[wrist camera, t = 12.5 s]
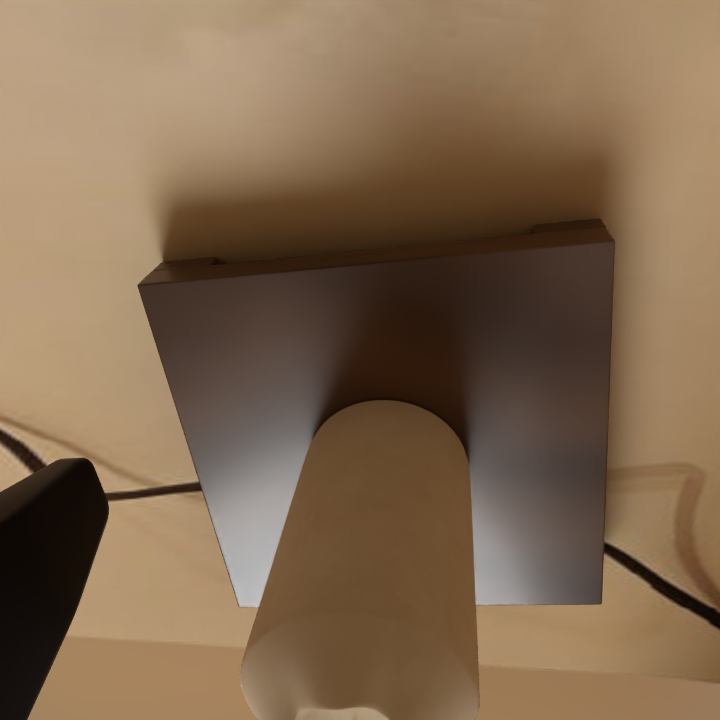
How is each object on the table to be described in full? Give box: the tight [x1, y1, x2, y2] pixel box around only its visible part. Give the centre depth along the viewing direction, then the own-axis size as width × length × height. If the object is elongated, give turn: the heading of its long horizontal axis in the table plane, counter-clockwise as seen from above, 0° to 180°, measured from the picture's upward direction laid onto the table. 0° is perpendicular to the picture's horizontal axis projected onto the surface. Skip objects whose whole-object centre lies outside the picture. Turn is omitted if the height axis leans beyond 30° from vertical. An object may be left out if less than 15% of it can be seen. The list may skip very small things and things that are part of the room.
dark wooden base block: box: [138, 219, 615, 607], centre depth 24 cm, size 14×14×2 cm
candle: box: [240, 400, 480, 720], centre depth 18 cm, size 6×6×10 cm
